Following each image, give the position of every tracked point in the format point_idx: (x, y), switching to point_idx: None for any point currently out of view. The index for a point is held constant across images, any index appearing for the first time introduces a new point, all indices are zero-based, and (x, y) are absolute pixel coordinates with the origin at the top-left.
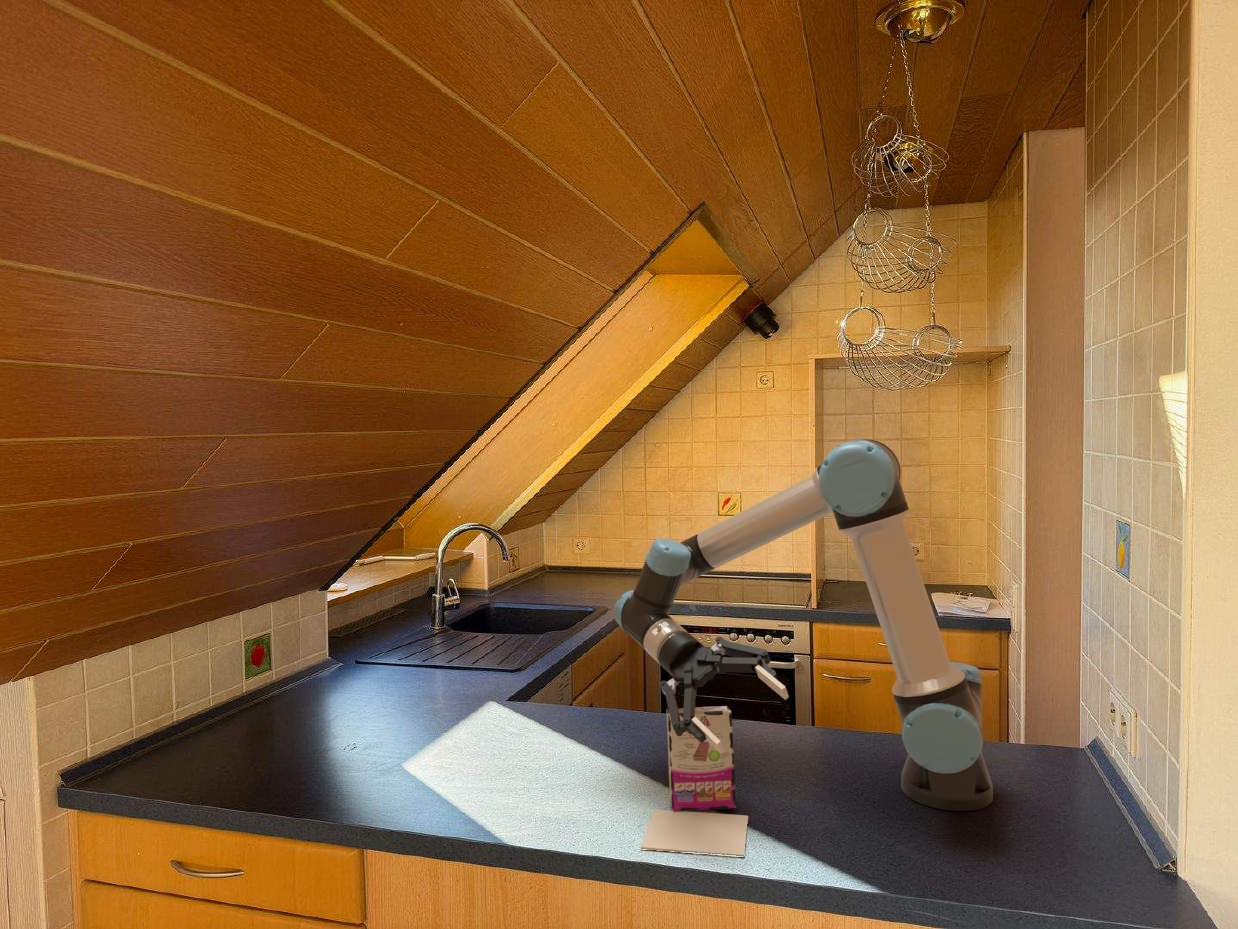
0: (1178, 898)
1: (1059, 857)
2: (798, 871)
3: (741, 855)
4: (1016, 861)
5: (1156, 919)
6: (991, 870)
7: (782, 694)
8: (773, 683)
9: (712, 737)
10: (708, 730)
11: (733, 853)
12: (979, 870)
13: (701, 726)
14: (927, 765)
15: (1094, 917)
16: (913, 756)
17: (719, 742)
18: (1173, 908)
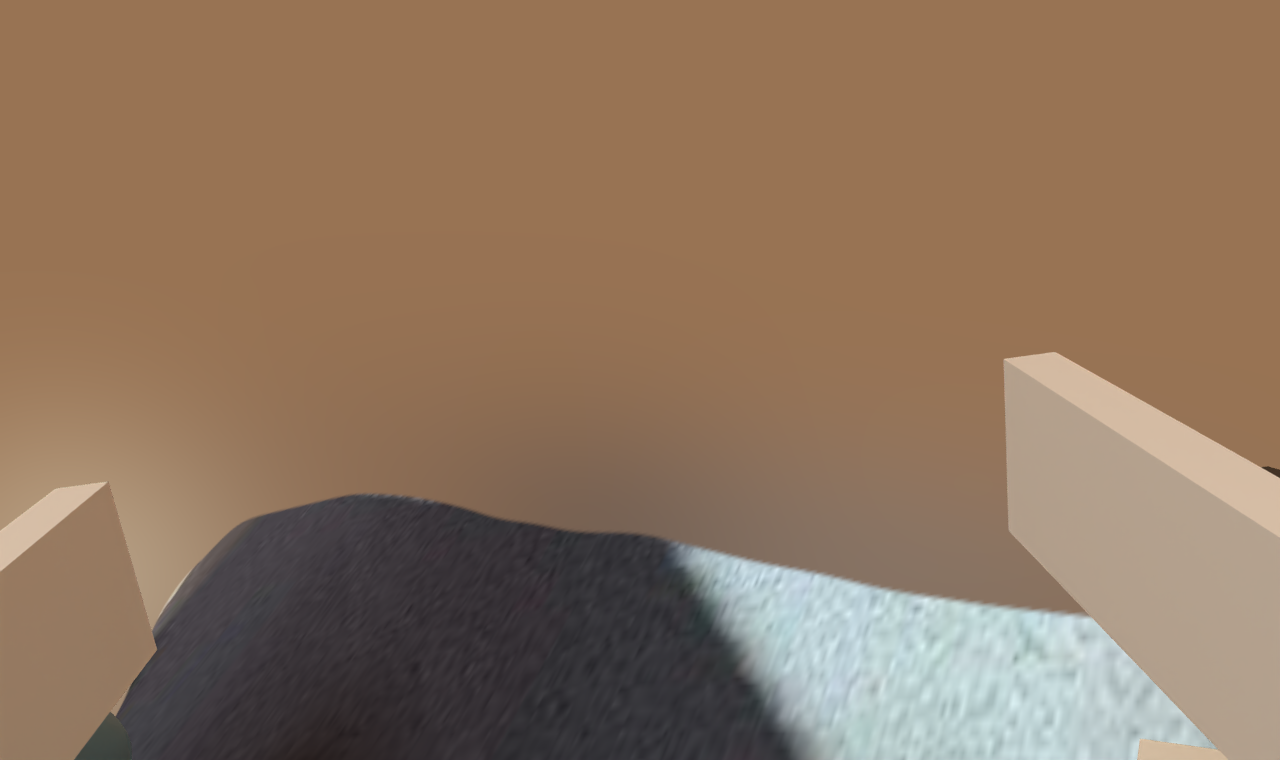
0: (198, 584)
1: (203, 748)
2: (895, 636)
3: (1158, 743)
4: (286, 726)
5: (281, 510)
6: (363, 675)
7: (126, 590)
8: (40, 562)
9: (1082, 385)
10: (1110, 423)
11: (1208, 755)
12: (386, 674)
13: (1206, 454)
14: (123, 730)
15: (351, 499)
16: (110, 732)
17: (1020, 357)
18: (232, 549)
